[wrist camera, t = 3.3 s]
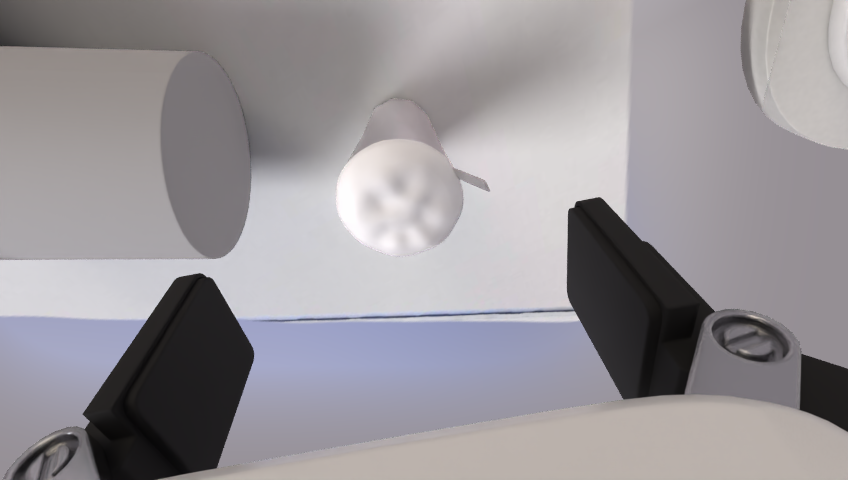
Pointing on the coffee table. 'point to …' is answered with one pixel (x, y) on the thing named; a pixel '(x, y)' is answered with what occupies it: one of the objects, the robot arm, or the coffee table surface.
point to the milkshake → (400, 183)
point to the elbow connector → (119, 155)
